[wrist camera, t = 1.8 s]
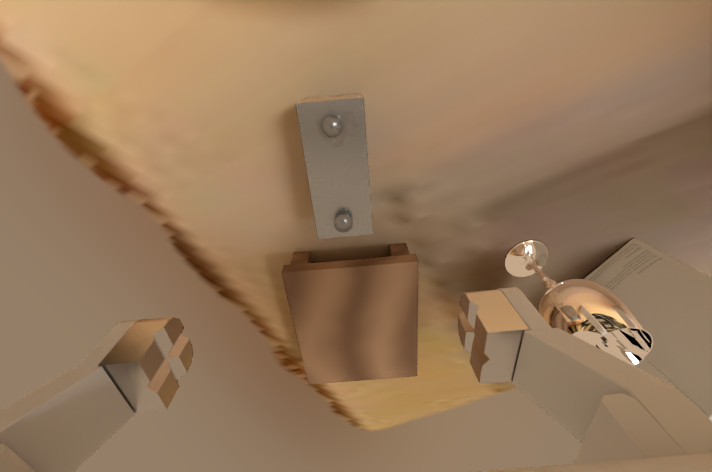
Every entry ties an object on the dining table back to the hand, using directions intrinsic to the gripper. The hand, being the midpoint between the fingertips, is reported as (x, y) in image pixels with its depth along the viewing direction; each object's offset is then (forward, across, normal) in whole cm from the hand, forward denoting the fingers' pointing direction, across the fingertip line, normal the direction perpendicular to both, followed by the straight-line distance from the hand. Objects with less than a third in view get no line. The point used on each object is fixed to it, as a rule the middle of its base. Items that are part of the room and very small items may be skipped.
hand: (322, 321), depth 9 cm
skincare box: (+20, -28, +15) cm, 37 cm away
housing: (+20, 0, 0) cm, 20 cm away
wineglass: (+20, -18, +12) cm, 29 cm away
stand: (+20, 0, +16) cm, 25 cm away
